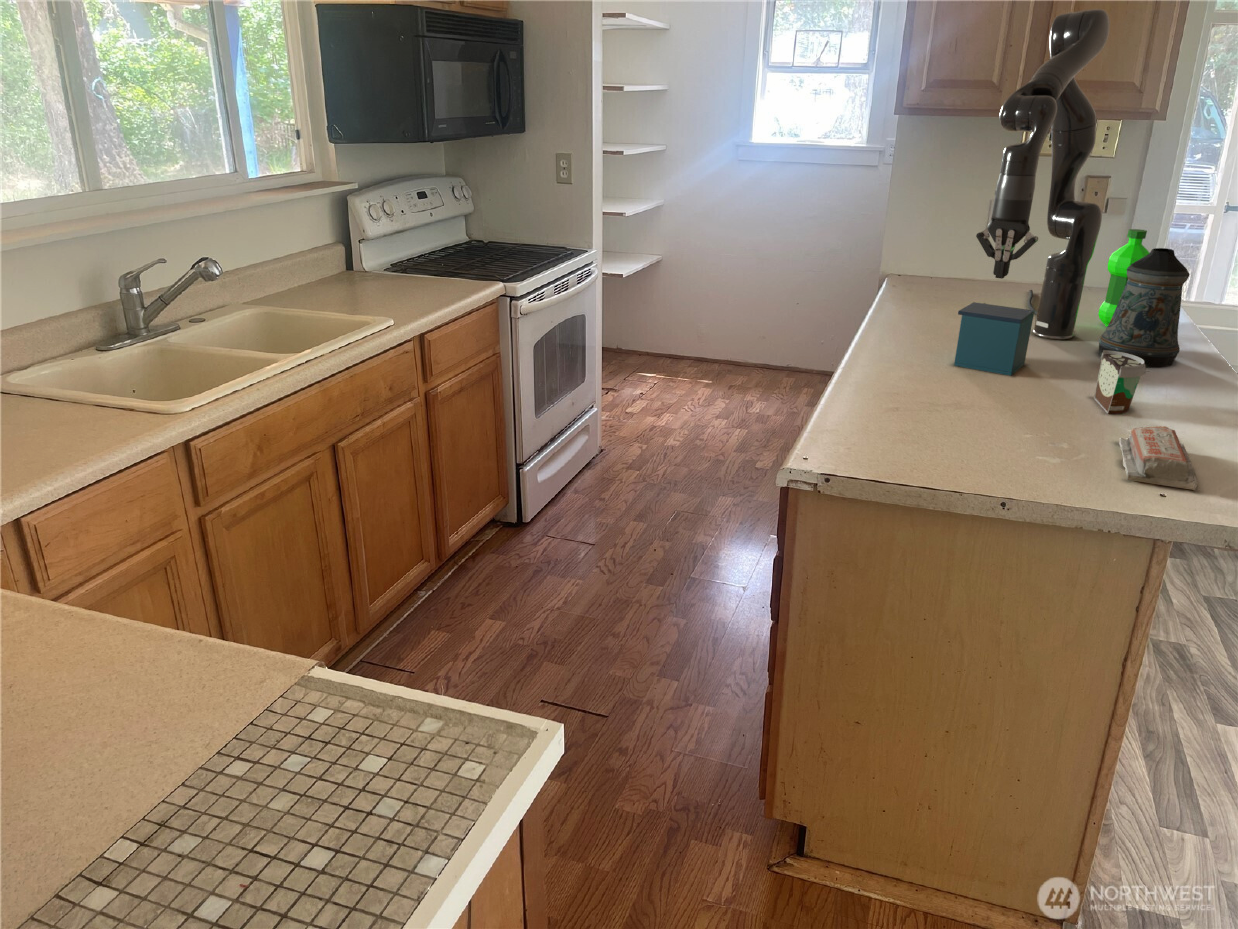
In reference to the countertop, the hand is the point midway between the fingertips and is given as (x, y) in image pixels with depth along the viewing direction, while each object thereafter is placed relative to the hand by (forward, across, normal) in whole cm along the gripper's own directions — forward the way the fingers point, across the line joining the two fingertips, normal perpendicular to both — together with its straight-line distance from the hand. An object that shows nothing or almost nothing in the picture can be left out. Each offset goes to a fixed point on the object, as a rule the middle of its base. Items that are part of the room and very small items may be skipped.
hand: (999, 277), depth 192 cm
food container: (+20, -30, +14) cm, 39 cm away
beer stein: (+20, -26, -28) cm, 44 cm away
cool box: (+20, -1, 0) cm, 20 cm away
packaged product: (+20, -41, +42) cm, 62 cm away
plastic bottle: (+20, -17, -56) cm, 62 cm away
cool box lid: (+8, -1, 0) cm, 8 cm away
